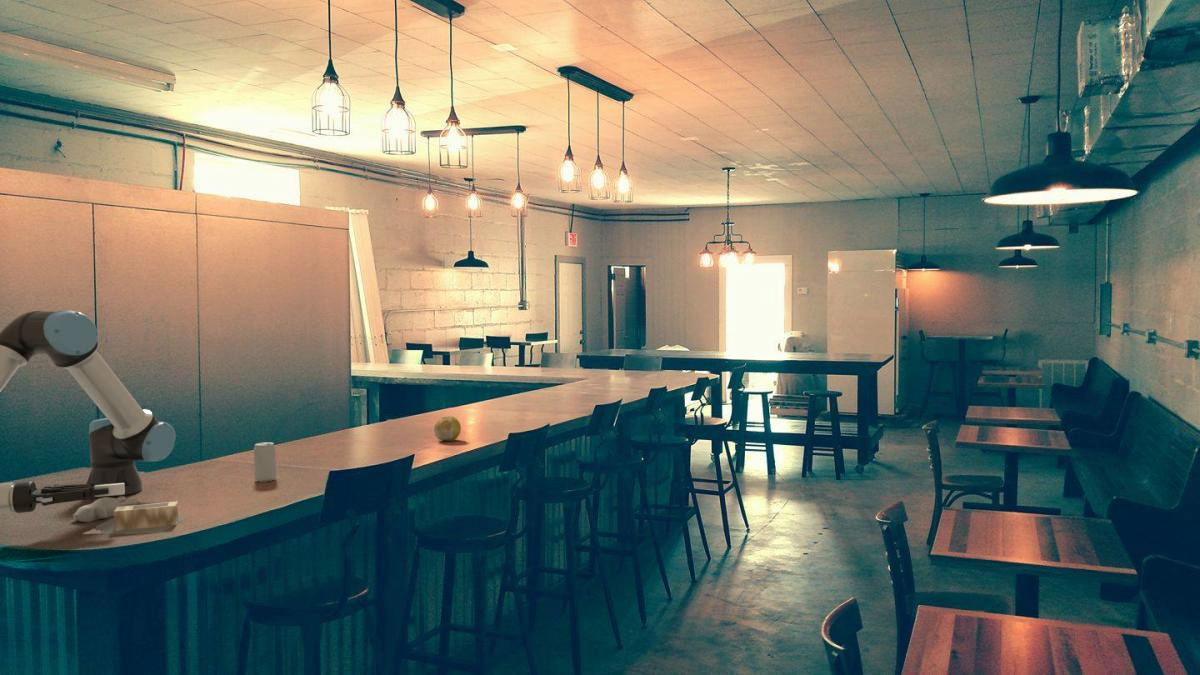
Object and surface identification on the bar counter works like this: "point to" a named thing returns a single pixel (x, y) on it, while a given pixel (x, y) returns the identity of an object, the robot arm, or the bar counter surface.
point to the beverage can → (264, 462)
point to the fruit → (447, 428)
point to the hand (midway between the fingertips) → (124, 488)
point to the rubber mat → (110, 529)
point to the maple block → (146, 516)
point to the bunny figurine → (101, 508)
